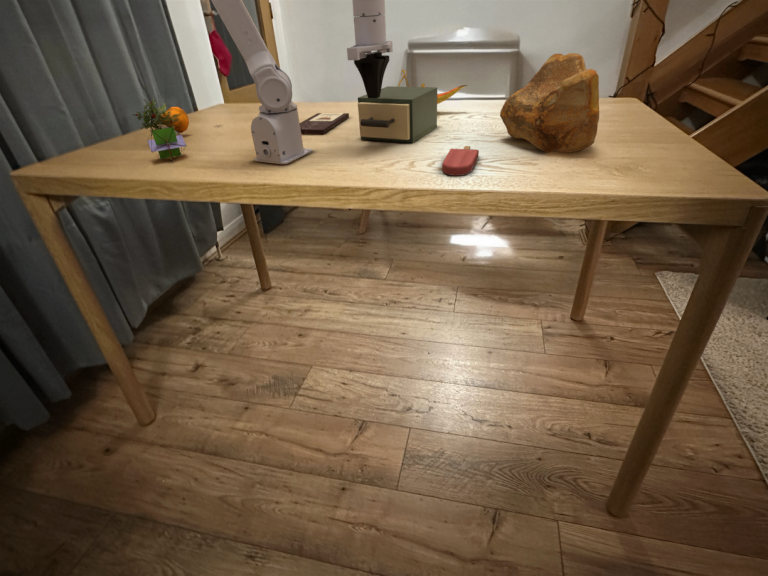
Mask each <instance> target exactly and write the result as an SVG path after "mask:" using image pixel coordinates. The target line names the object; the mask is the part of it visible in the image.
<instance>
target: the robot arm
mask: <svg viewBox="0 0 768 576" xmlns="http://www.w3.org/2000/svg"><path fill="white" fill-rule="evenodd" d="M210 1H211V3H212V4H213V6H214V8H215V10H216V12H217V14H218V15H219V17H220V19H221V21H222V23H223V25H224V26H225V28H226V30H227V31H228V33H229V36H230V37H231V39H232V41H233V42H234V44H235V46H236V47H237V49H238V51H239V53H240V55H241V56H242V58H243V60H244V62H245V64H246V66H247V67H246V68H247V70H248V72H249V74H250V76H251V79H252V80H253V82H254V84H255V91H256V93H255V94H256V97H257V99H258V101H259V103H260V104H261V105H260V106H259V107H258V115H257V116H255V117H254V118H253V119H252V121H251V124H250V132H251V137H252V142H253V146H254V151H255V155H256V157H255V158H254V159H253V161H254V162H259V163H268V164H276V165H288V164H290V163H292V162H295V161H296V160H299V159H300V158H302V157H304V156H306V155H308V154H310V153H312V152H313V151H314V150H313V148H306V147H305V148H304V144H303V138H302V136H303V135H302V134H301V129H300V123H301V122H300V117H299V110H298V104H297V103H295V102H293V101H292V100H293V85H292V81H291V79H290V76H289V75H288V74H287V73H286V72H285V71H284V70H283V69H281V68H280V67H279V66H278V64H277V62H276V61H275V58H274V57H273V55H272V53H271V52H270V50H269V48H268V46H267V45H266V43H265V41H264V39H263V37H262V35H261V33H260V32H259V29H258V27H257V26H256V24H255V22H254V20H253V18H252V16H251V14H250V13H249V11H248V8H247V7H246V5H245V3H244V1H243V0H210ZM351 1H352V13H353V15H352V16H353V29H354V42H355V44H354V45H352V46H349V47H347V48H346V56H347V61H353V64H354V65H355V68H356V69H357V70H358V72H359V76H360V78H361V79H362V82H363V86H364V89H365V92H366V94H367V96H368V98H379V97H380V94H381V89H382V88H383V81H384V76H385V72H386V69H387V67H388V64H389V62H390V55H388V54H387V55H385V54H386V53H393V40H387V29H386V28H387V27H386V3H385V2H386V1H385V0H351Z"/></svg>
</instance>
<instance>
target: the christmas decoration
mask: <svg viewBox="0 0 768 576" xmlns="http://www.w3.org/2000/svg"><path fill="white" fill-rule="evenodd" d="M144 102H145V105H144V106H143V111H142V113H141V112H139V111H137V112H136V113H135V114H134V113H132V114H131V116H135V117H137V120H139V121H141V120H143V122H141V124H142V125H141V126H142V127H141V128H140V130H142V129H145V130H148V129H150V131H149V132H151V130H156V129H161V126H160V125H162V126H166V127H169V126H170V127H174V128H175V129H174V130H175V131H177V132H178V133H180V134H182V133H184V132H187V130H188V128H189V125H190V121H189V119H190V118H189V116H188V114H187V113H186V111H185V110H184V109H182V108H181V107H179V106H171V107H169V108H168V109H167V104H166V102H164V103H163V105H161V106H157V107H155V105H156V104H157V101H155V97H153V98H152V100H151V101H149V102H148V101H147V100H146V99H144ZM216 125H217V126H220V123H217V124H216ZM158 126H159V127H158Z"/></svg>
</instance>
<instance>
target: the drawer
mask: <svg viewBox="0 0 768 576" xmlns="http://www.w3.org/2000/svg"><path fill="white" fill-rule="evenodd" d="M357 110H358V111H357V113H358V122H359V125H358V126H359V136H360V138H361V137H374V138H388V139H401V140H409V139H410V106H409V104H408V103H395V104H390V103H382V102H366V103H364V102H360V103H358V102H357Z"/></svg>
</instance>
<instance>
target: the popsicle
mask: <svg viewBox="0 0 768 576" xmlns="http://www.w3.org/2000/svg"><path fill="white" fill-rule="evenodd" d="M479 154H480V151H479V149H474V148H472V149H471V146H470V145H464V147H463V148H450V149H449V151H448V152H447V153H446V155H445V157H444V159H443V161H442V164H441V170H442V172H443V173H444V174H446V175H449V176H464V175H467V174H470V173H471V172H472V170H473V169H474V167H475V164H476V163H477V160H478V158H479V156H480V155H479Z"/></svg>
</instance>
